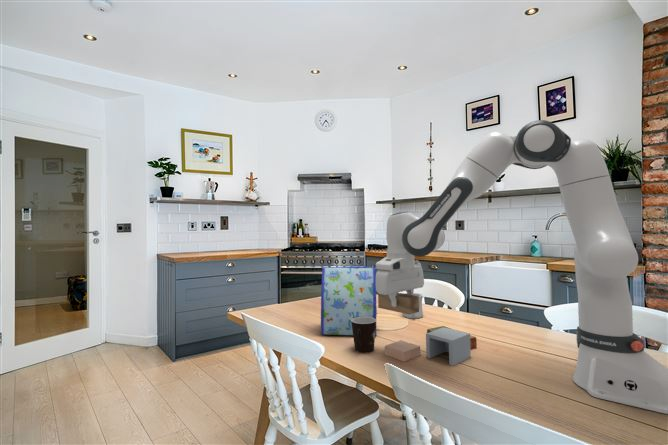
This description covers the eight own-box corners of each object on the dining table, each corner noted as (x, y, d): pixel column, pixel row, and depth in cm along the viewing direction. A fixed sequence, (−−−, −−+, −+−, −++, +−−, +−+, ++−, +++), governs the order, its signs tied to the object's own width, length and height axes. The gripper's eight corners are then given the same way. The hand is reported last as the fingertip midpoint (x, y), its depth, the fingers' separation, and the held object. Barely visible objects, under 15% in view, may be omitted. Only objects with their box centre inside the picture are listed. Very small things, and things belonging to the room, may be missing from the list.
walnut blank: (388, 305, 123) (388, 290, 123) (419, 311, 113) (418, 296, 113) (378, 307, 120) (378, 292, 120) (409, 314, 110) (408, 298, 110)
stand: (420, 355, 115) (420, 346, 115) (404, 361, 110) (404, 352, 110) (401, 349, 121) (400, 340, 121) (385, 354, 116) (384, 345, 116)
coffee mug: (363, 343, 127) (362, 315, 127) (382, 349, 121) (381, 319, 121) (340, 352, 119) (339, 322, 119) (359, 358, 113) (358, 327, 113)
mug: (402, 313, 168) (401, 292, 168) (422, 314, 167) (421, 292, 167) (403, 320, 156) (403, 298, 156) (425, 321, 155) (424, 298, 155)
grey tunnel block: (470, 357, 112) (470, 333, 112) (452, 365, 106) (452, 340, 106) (444, 349, 119) (444, 327, 119) (426, 357, 113) (425, 333, 113)
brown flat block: (458, 353, 117) (458, 340, 117) (426, 339, 131) (426, 328, 131) (477, 349, 120) (476, 336, 120) (444, 336, 135) (443, 324, 135)
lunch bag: (377, 325, 150) (376, 263, 150) (378, 338, 133) (376, 268, 133) (325, 325, 152) (323, 264, 152) (319, 337, 135) (318, 269, 136)
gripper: (413, 259, 125) (413, 298, 125) (371, 264, 112) (372, 308, 112) (428, 260, 120) (429, 301, 120) (386, 265, 107) (388, 311, 107)
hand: (401, 304), depth 115 cm, fingers closed on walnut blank, 5 cm apart
